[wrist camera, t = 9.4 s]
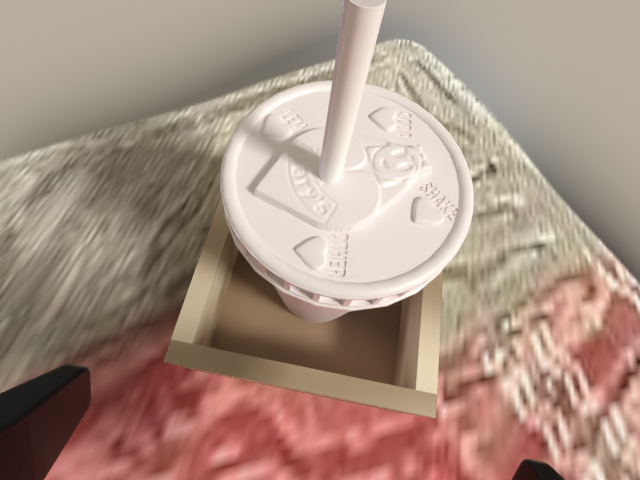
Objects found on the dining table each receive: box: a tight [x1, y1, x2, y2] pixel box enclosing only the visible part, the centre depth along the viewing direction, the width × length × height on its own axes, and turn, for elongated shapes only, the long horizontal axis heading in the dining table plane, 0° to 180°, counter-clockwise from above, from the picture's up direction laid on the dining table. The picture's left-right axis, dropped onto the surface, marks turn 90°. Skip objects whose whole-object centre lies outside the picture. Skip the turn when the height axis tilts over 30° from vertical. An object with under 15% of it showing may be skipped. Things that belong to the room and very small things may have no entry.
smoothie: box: [220, 0, 474, 323], centre depth 11 cm, size 6×6×14 cm
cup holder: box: [163, 195, 443, 418], centre depth 17 cm, size 10×10×4 cm
